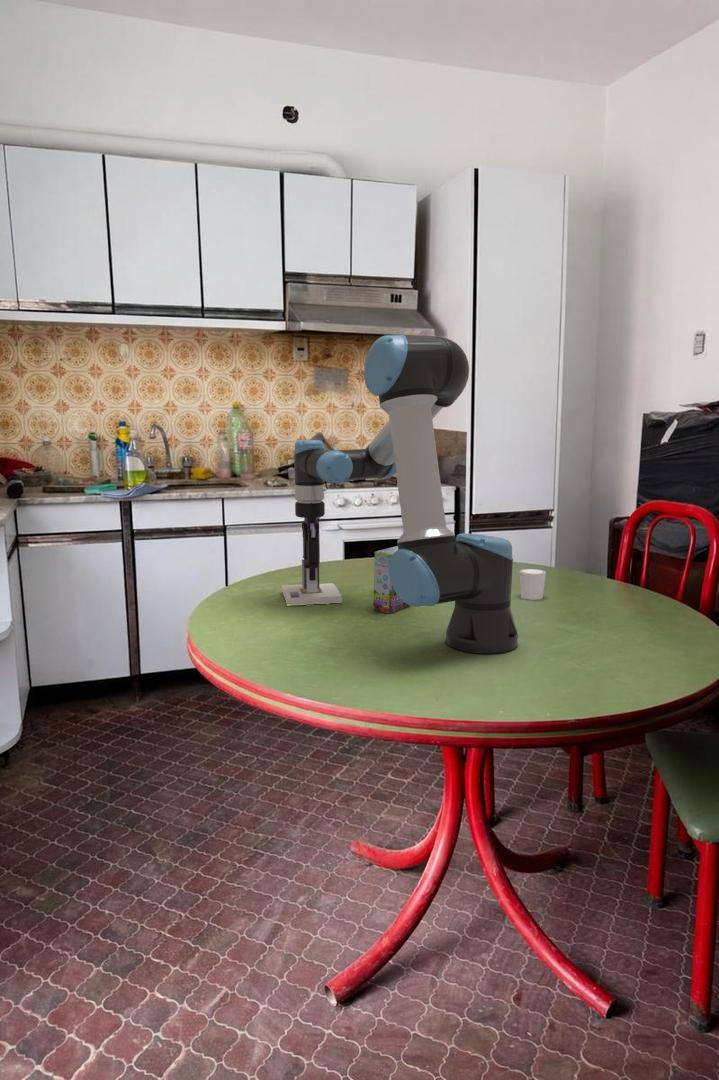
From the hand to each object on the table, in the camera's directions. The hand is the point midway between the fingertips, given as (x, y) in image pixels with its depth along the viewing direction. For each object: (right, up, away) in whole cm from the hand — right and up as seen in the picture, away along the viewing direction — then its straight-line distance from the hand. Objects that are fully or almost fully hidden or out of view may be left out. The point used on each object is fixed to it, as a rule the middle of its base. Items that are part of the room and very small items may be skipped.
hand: (310, 589), depth 198 cm
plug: (0, -2, 0) cm, 2 cm away
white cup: (+58, -2, +1) cm, 58 cm away
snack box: (+25, -4, -5) cm, 25 cm away
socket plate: (0, -2, 0) cm, 2 cm away
